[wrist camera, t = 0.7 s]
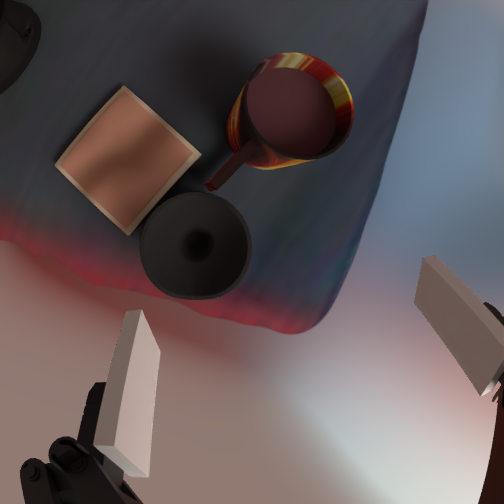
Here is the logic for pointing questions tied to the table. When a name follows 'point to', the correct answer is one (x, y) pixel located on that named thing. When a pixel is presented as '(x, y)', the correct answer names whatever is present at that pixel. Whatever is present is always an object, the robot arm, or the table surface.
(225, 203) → the pen holder
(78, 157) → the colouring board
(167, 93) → the table surface
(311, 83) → the mug
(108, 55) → the table surface
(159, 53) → the table surface
